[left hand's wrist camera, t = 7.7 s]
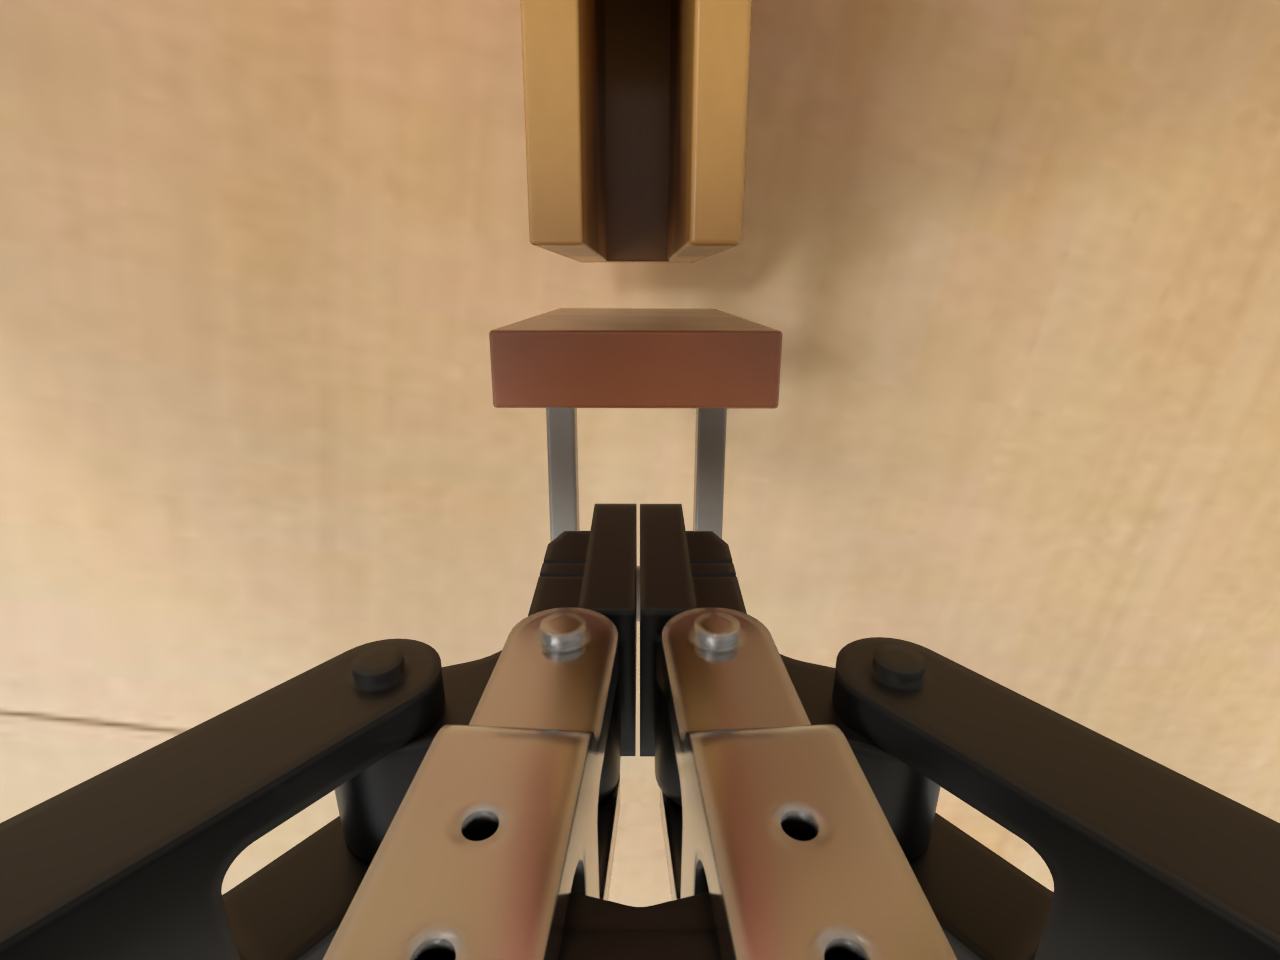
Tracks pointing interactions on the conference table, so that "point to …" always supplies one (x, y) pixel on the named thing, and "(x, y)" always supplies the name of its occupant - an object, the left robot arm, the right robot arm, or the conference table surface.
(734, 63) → the drawer
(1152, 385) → the conference table surface
